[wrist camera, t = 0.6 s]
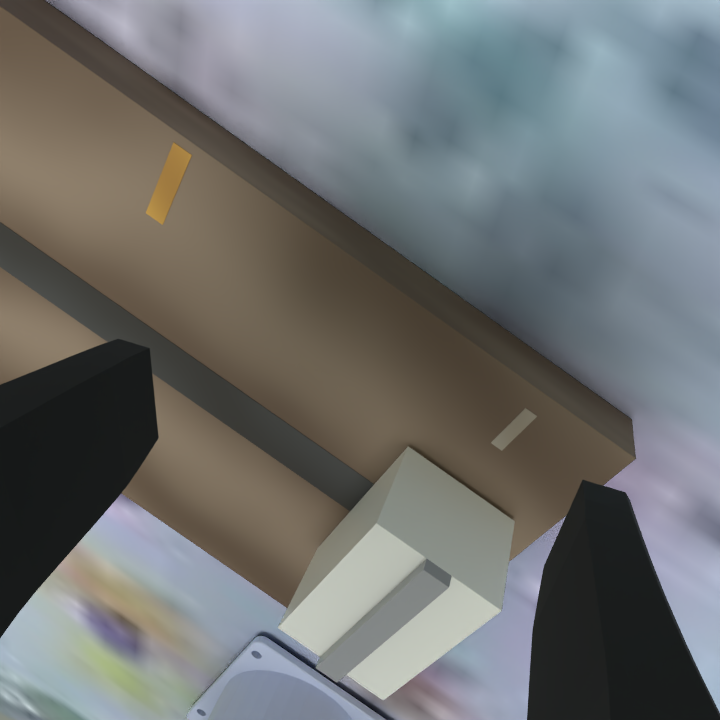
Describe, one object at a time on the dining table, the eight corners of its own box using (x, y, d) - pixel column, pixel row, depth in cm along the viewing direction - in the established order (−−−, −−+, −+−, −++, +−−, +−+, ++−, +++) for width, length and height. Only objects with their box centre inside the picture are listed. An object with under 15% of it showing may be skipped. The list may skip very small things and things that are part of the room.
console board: (389, 628, 27) (376, 670, 25) (-49, 324, 27) (-92, 346, 25) (631, 419, 20) (636, 459, 18) (25, -14, 19) (-31, -16, 17)
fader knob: (409, 612, 23) (379, 712, 20) (317, 548, 23) (272, 638, 20) (514, 521, 20) (499, 623, 17) (407, 446, 20) (372, 533, 16)
